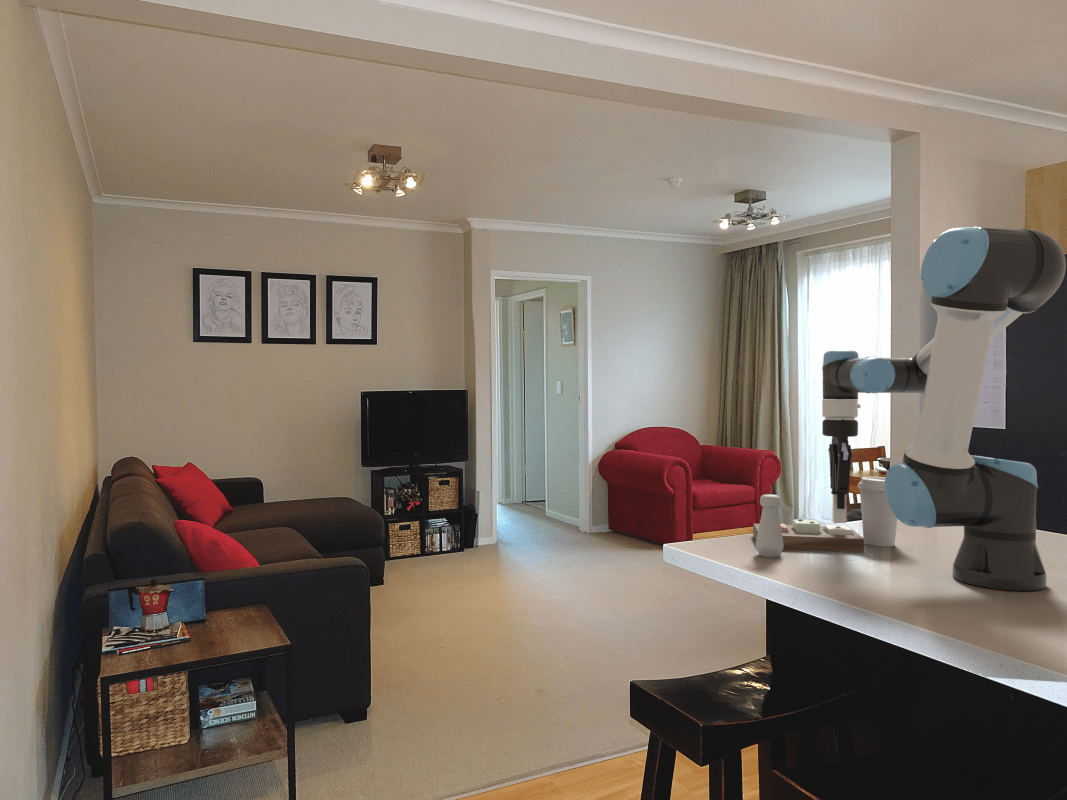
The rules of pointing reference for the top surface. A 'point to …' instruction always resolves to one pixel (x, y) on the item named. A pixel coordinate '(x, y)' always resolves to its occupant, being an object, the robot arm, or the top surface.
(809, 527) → the pale green square block
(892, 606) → the top surface
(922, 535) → the top surface
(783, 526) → the tile
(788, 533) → the button board
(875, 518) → the coffee cup
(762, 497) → the salt shaker
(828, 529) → the cream square block
